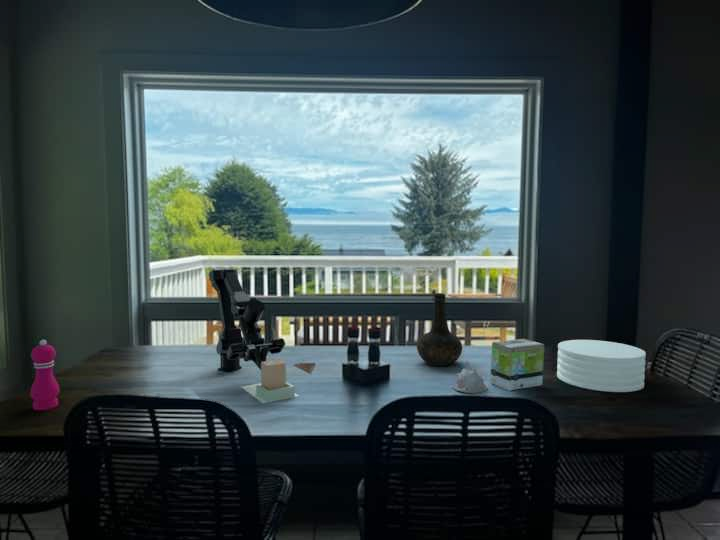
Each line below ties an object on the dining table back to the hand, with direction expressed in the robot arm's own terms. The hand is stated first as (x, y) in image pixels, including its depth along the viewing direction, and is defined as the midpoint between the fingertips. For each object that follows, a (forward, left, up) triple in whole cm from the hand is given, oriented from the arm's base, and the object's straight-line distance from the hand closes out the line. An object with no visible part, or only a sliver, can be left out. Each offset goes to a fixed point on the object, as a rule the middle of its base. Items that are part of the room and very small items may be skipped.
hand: (263, 370), depth 159 cm
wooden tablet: (-2, +24, -8) cm, 26 cm away
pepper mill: (-49, -40, -7) cm, 64 cm away
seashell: (+59, +35, -7) cm, 69 cm away
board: (+4, -2, -7) cm, 8 cm away
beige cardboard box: (+7, -4, -6) cm, 9 cm away
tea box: (+72, +46, -7) cm, 86 cm away
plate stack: (+98, +66, -7) cm, 118 cm away
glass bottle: (+40, +61, -7) cm, 73 cm away
